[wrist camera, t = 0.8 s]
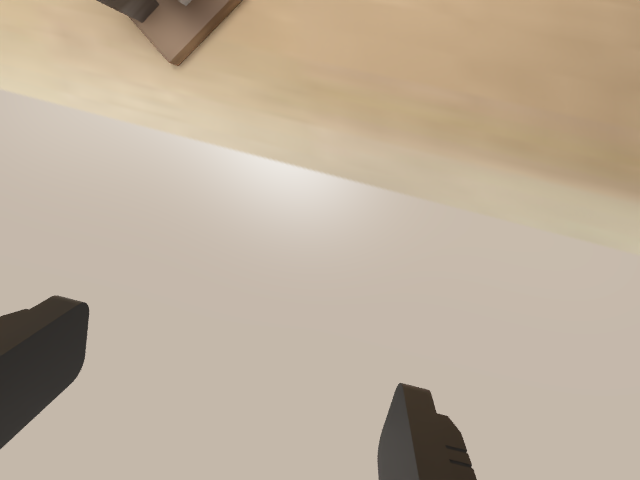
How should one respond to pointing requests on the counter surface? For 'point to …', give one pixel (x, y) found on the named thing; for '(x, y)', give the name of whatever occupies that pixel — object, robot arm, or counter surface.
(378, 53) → the counter surface
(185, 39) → the base
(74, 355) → the robot arm
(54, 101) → the counter surface
